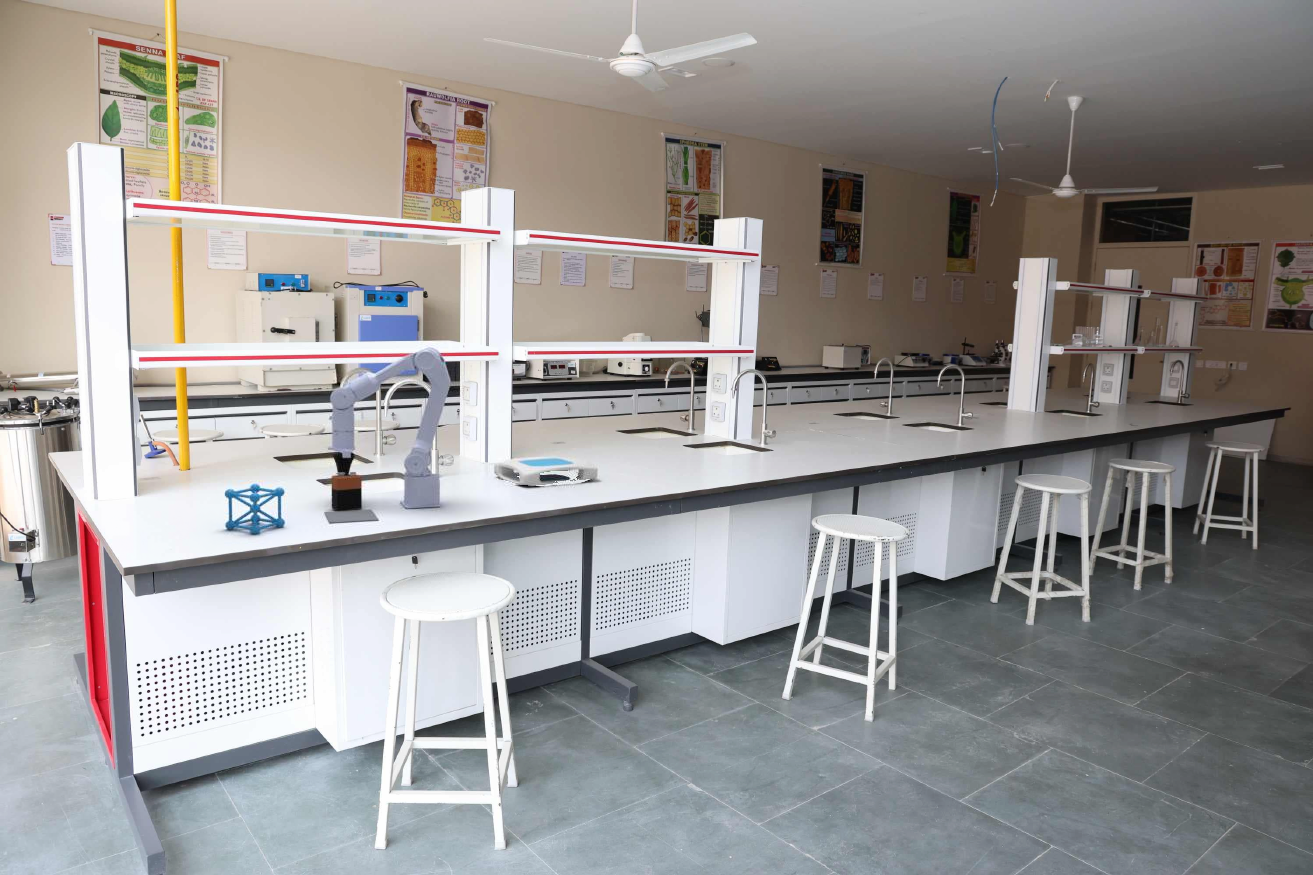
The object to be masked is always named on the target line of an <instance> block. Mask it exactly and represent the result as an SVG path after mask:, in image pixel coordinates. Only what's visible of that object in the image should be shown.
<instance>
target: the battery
mask: <svg viewBox="0 0 1313 875" xmlns="http://www.w3.org/2000/svg"><path fill="white" fill-rule="evenodd" d="M343 474H345V473H344V472H336V474H335V475H332V476H331V509H332V510H334V511H351V510H362V508H363V506H362V504H363V503H362V501H363V498H362V497H363V496H362V494H363V493H362V491H363V489H362V487H363V485H362V479H363V478H362V475H359V474H357V473H356V471H352V472H351V471H349V474H348V475H343Z"/></svg>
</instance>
